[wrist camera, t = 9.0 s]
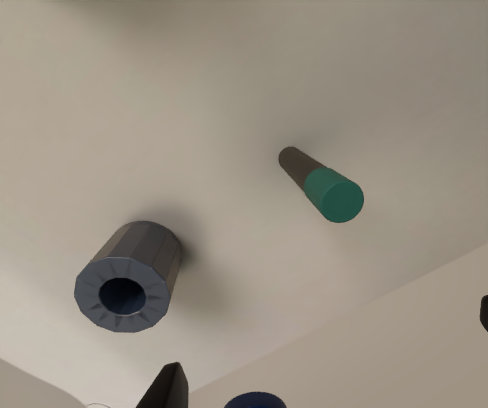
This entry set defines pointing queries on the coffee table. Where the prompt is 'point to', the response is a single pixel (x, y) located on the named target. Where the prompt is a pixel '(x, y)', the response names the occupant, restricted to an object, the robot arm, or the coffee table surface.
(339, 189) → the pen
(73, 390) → the coffee table surface
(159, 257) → the pen cup
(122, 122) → the coffee table surface
